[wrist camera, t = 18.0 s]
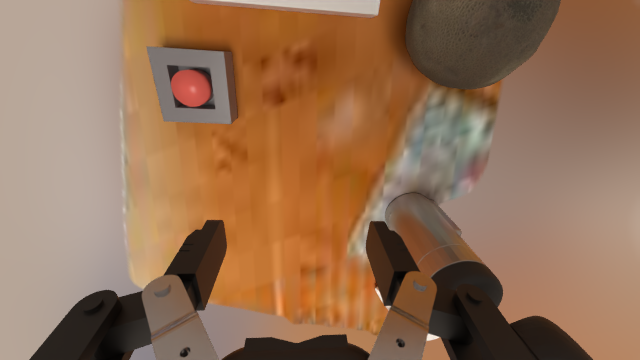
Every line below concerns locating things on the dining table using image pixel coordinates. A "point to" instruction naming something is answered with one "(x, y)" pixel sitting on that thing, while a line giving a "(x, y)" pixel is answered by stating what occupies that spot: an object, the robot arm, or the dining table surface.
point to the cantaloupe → (475, 38)
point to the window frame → (308, 6)
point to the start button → (192, 87)
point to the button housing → (211, 62)
